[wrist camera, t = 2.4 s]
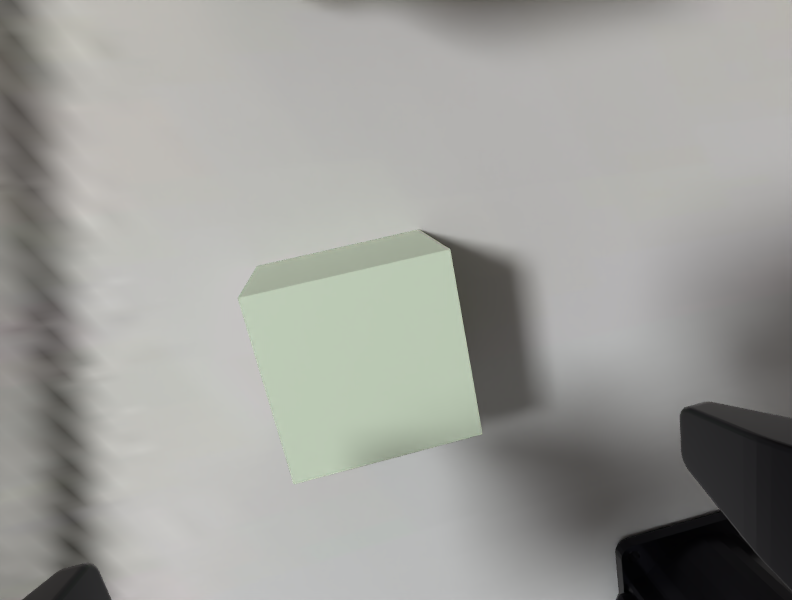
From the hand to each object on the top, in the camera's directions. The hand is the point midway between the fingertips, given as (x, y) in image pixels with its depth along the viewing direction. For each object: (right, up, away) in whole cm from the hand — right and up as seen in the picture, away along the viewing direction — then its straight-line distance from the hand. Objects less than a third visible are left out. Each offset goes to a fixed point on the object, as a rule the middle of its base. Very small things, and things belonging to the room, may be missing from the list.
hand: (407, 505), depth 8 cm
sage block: (-1, +2, +9) cm, 9 cm away
